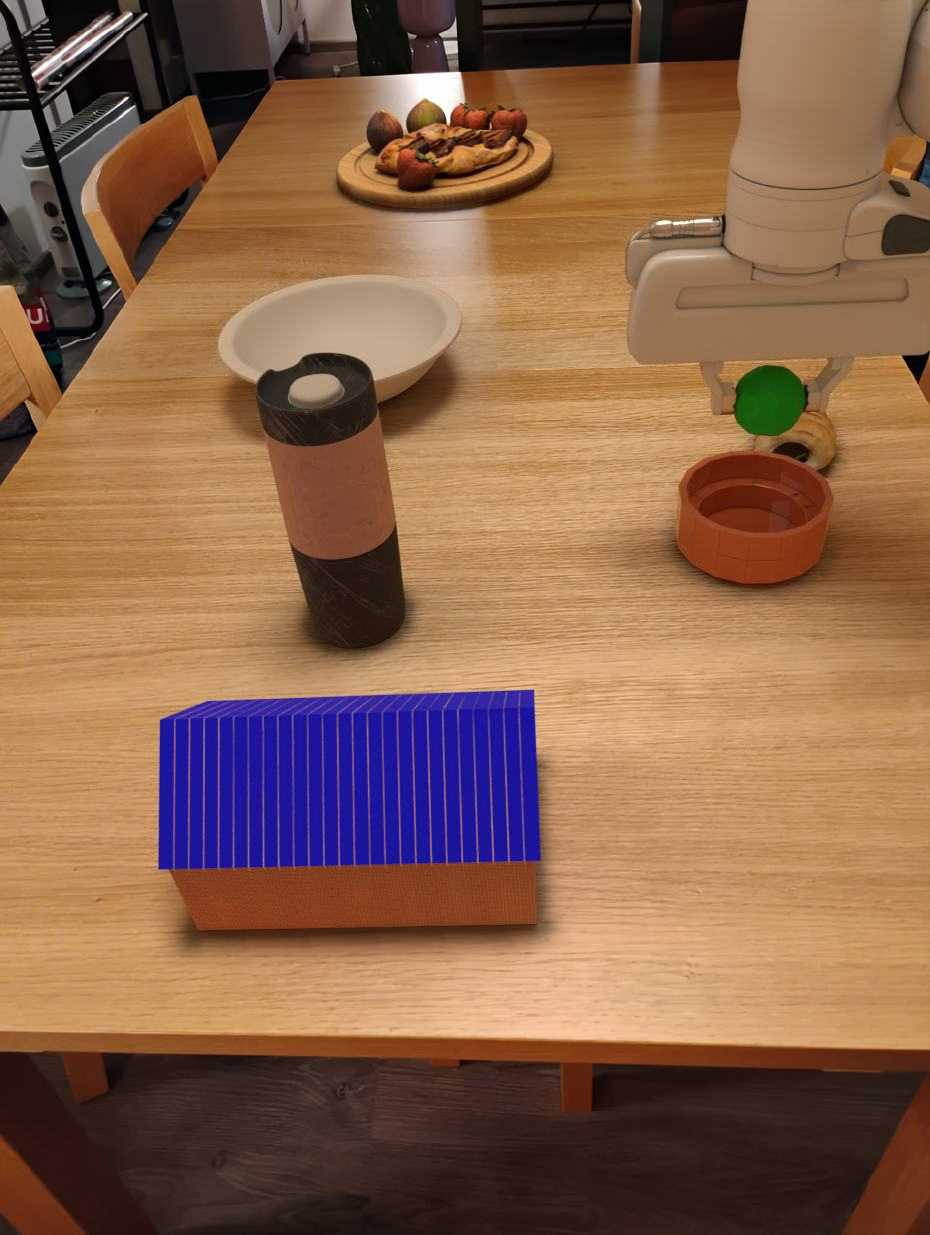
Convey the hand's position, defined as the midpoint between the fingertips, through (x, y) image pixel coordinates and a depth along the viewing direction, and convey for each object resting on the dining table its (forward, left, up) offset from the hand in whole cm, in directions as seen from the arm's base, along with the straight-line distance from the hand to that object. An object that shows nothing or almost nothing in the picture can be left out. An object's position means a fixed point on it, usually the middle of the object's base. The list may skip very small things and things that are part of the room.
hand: (767, 409), depth 70 cm
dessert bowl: (0, 0, -12) cm, 12 cm away
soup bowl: (+36, -27, -12) cm, 47 cm away
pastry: (-6, -13, -12) cm, 19 cm away
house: (+26, +28, -12) cm, 41 cm away
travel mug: (+30, +8, -12) cm, 33 cm away
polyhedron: (0, 0, -2) cm, 2 cm away
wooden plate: (+31, -89, -12) cm, 95 cm away
